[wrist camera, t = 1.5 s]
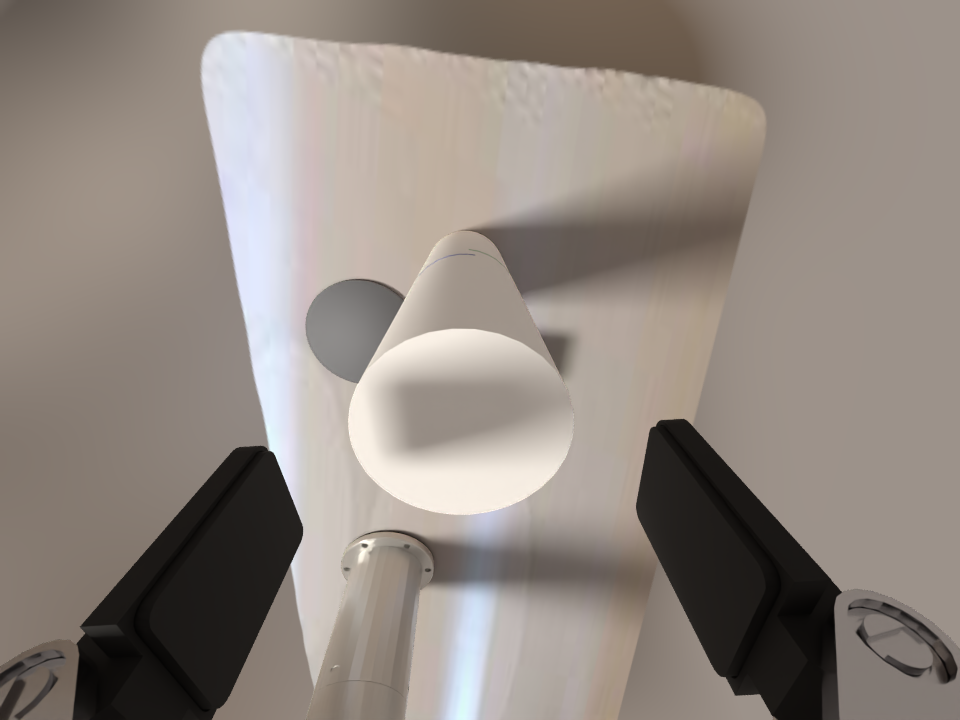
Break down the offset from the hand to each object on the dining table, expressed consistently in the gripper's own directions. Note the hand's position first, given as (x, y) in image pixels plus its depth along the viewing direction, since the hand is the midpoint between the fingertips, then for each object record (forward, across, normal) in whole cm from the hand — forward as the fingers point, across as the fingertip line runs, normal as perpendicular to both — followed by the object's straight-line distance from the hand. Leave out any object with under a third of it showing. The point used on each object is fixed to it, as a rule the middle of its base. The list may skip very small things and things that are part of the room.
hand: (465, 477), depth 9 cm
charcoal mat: (+27, +11, +6) cm, 30 cm away
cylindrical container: (+28, 0, +1) cm, 28 cm away
